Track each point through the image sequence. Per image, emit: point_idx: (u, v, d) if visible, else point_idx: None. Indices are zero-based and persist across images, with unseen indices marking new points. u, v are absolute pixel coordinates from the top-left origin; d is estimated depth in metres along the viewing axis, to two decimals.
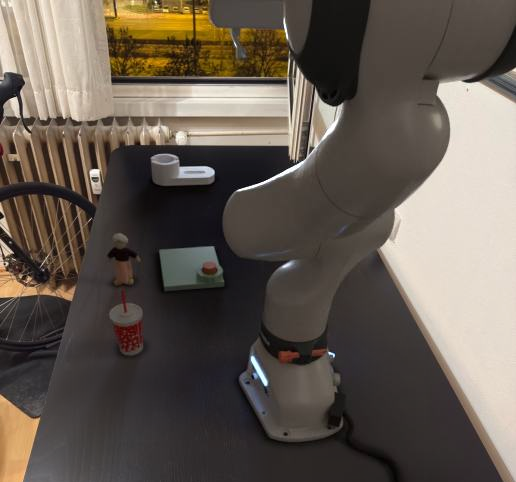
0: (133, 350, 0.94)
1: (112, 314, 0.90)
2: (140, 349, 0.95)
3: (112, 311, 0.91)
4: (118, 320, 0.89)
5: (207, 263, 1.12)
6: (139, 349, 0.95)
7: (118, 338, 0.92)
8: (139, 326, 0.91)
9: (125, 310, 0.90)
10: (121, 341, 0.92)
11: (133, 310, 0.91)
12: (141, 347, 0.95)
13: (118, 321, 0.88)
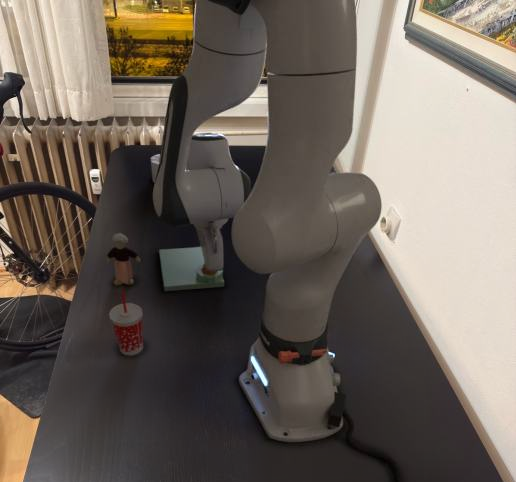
0: (133, 350, 0.94)
1: (112, 314, 0.90)
2: (140, 349, 0.95)
3: (112, 311, 0.91)
4: (118, 320, 0.89)
5: None
6: (139, 349, 0.95)
7: (118, 338, 0.92)
8: (139, 326, 0.91)
9: (125, 310, 0.90)
10: (121, 341, 0.92)
11: (133, 310, 0.91)
12: (141, 347, 0.95)
13: (118, 321, 0.88)
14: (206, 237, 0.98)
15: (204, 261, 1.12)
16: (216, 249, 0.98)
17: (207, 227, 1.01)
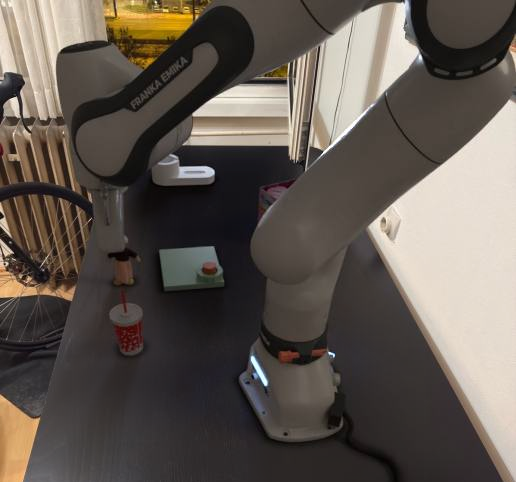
0: (133, 350, 0.94)
1: (112, 314, 0.90)
2: (140, 349, 0.95)
3: (112, 311, 0.91)
4: (118, 320, 0.89)
5: (207, 263, 1.12)
6: (139, 349, 0.95)
7: (118, 338, 0.92)
8: (139, 326, 0.91)
9: (125, 310, 0.90)
10: (121, 341, 0.92)
11: (133, 310, 0.91)
12: (141, 347, 0.95)
13: (118, 321, 0.88)
14: (93, 202, 0.67)
15: None
16: (107, 219, 0.67)
17: (99, 189, 0.69)
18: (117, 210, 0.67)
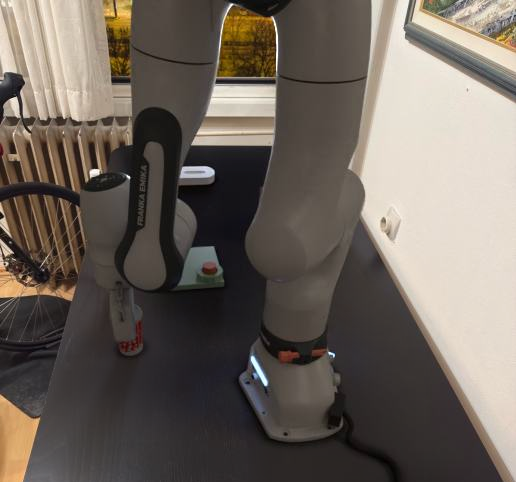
0: (133, 350, 0.94)
1: None
2: (140, 349, 0.95)
3: None
4: None
5: (207, 263, 1.12)
6: (139, 349, 0.95)
7: None
8: (139, 326, 0.91)
9: None
10: None
11: None
12: (141, 347, 0.95)
13: None
14: (110, 303, 0.79)
15: None
16: (122, 318, 0.78)
17: (114, 289, 0.81)
18: (130, 309, 0.79)
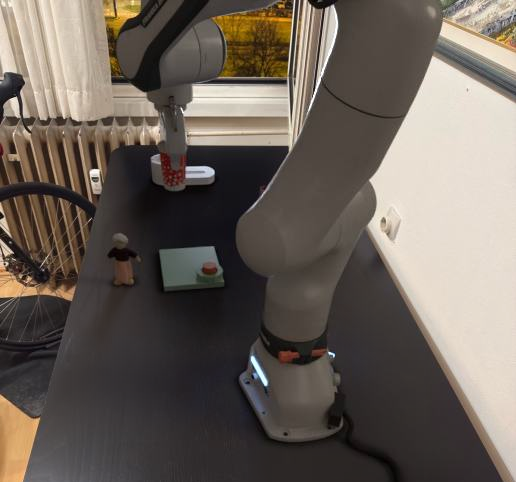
0: (177, 185, 1.02)
1: (160, 145, 0.97)
2: (183, 186, 1.03)
3: (159, 143, 0.98)
4: None
5: (207, 263, 1.12)
6: (182, 185, 1.03)
7: (164, 171, 1.00)
8: (184, 158, 0.99)
9: None
10: (167, 174, 1.00)
11: None
12: (184, 184, 1.03)
13: None
14: (165, 113, 0.86)
15: None
16: (176, 125, 0.86)
17: (167, 105, 0.89)
18: (183, 119, 0.87)
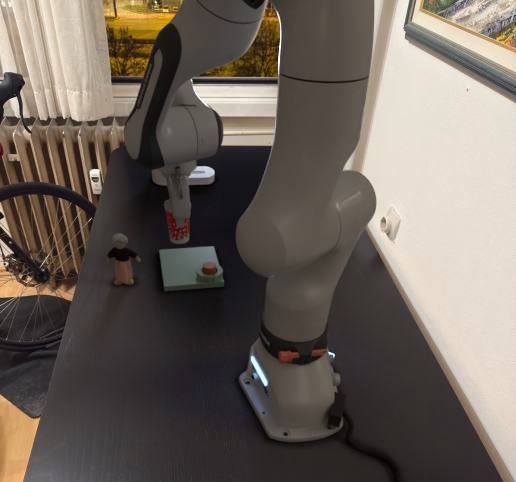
0: (182, 239, 1.12)
1: (166, 204, 1.08)
2: (187, 239, 1.13)
3: (166, 202, 1.08)
4: (171, 208, 1.07)
5: (207, 263, 1.12)
6: (186, 239, 1.13)
7: (170, 227, 1.10)
8: None
9: None
10: (173, 229, 1.10)
11: None
12: (188, 237, 1.13)
13: None
14: (172, 183, 0.97)
15: None
16: (181, 194, 0.96)
17: (173, 174, 0.99)
18: (188, 188, 0.97)
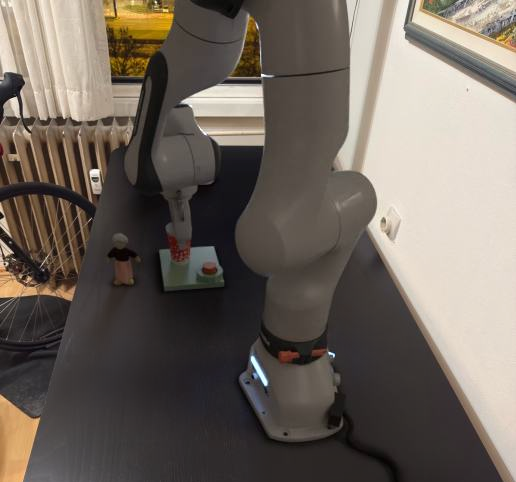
0: (183, 260, 1.16)
1: (168, 228, 1.12)
2: (188, 261, 1.17)
3: (167, 226, 1.12)
4: (173, 232, 1.11)
5: (207, 263, 1.12)
6: (187, 260, 1.17)
7: (171, 249, 1.14)
8: None
9: None
10: (174, 252, 1.14)
11: None
12: (189, 259, 1.17)
13: (173, 233, 1.10)
14: (173, 206, 1.00)
15: None
16: (183, 217, 0.99)
17: (175, 197, 1.02)
18: (189, 211, 1.00)
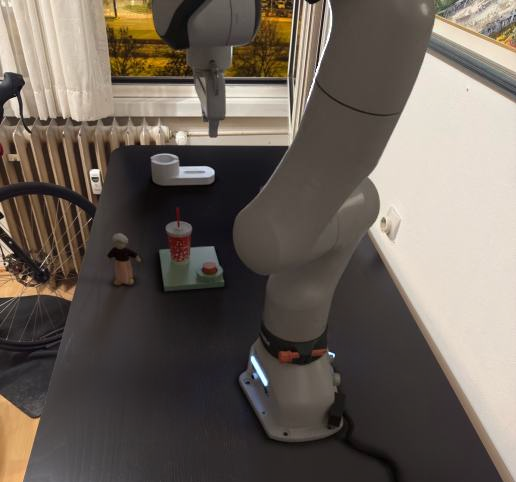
0: (183, 260, 1.16)
1: (168, 228, 1.12)
2: (188, 261, 1.17)
3: (167, 226, 1.12)
4: (173, 232, 1.11)
5: (207, 263, 1.12)
6: (187, 260, 1.17)
7: (171, 249, 1.14)
8: (189, 239, 1.13)
9: (178, 225, 1.11)
10: (174, 252, 1.14)
11: (184, 226, 1.13)
12: (189, 259, 1.17)
13: (173, 233, 1.10)
14: (207, 76, 0.89)
15: (202, 117, 1.05)
16: (218, 88, 0.88)
17: (208, 69, 0.91)
18: (224, 83, 0.89)
